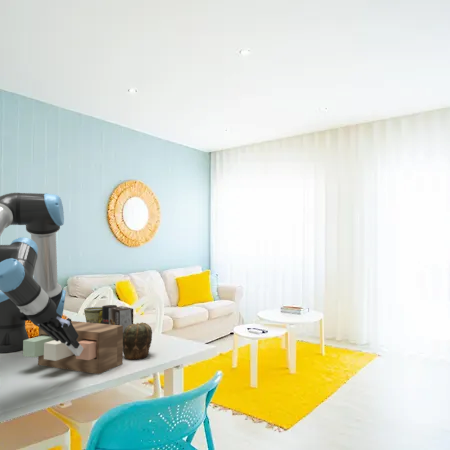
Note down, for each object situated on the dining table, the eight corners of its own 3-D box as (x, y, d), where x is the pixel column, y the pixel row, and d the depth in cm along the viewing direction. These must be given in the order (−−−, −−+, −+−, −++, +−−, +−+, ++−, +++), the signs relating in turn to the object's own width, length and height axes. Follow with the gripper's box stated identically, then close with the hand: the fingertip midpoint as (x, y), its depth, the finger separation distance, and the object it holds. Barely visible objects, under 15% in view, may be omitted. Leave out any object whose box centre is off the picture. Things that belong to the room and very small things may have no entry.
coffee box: (134, 349, 157) (134, 308, 158) (119, 352, 153) (119, 310, 154) (121, 345, 164) (122, 305, 165) (107, 348, 159) (107, 307, 160)
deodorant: (112, 343, 167) (112, 307, 167) (99, 343, 168) (99, 306, 169) (118, 340, 173) (119, 305, 173) (106, 339, 174) (106, 304, 174)
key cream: (43, 359, 127) (44, 343, 127) (65, 352, 135) (65, 336, 135) (55, 360, 125) (56, 344, 125) (76, 353, 133) (77, 338, 133)
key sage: (22, 356, 130) (23, 340, 130) (45, 349, 139) (45, 334, 139) (34, 357, 128) (34, 341, 129) (56, 350, 137) (56, 335, 137)
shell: (158, 354, 150) (158, 322, 151) (137, 362, 141) (138, 327, 141) (136, 350, 156) (136, 319, 156) (115, 357, 146) (115, 324, 147)
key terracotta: (76, 358, 127) (76, 342, 128) (95, 351, 136) (95, 336, 136) (88, 360, 125) (88, 344, 126) (107, 353, 134) (107, 337, 134)
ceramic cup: (79, 329, 195) (80, 308, 196) (97, 326, 203) (97, 306, 204) (95, 333, 187) (96, 311, 188) (113, 329, 195) (113, 308, 196)
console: (38, 364, 137) (38, 326, 138) (64, 355, 149) (65, 320, 149) (98, 374, 127) (99, 332, 128) (122, 363, 138) (122, 325, 139)
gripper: (11, 315, 111) (57, 360, 125) (46, 318, 106) (90, 365, 120) (28, 293, 116) (70, 339, 130) (62, 295, 111) (102, 343, 125)
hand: (79, 351), depth 125 cm, fingers closed
